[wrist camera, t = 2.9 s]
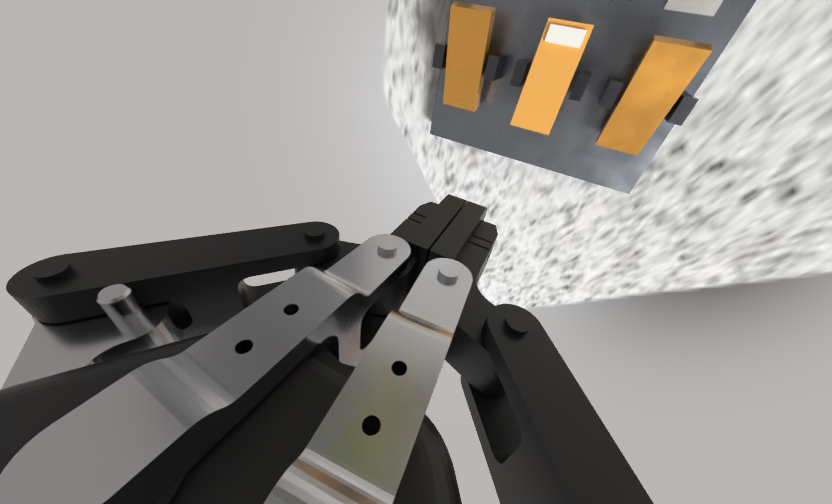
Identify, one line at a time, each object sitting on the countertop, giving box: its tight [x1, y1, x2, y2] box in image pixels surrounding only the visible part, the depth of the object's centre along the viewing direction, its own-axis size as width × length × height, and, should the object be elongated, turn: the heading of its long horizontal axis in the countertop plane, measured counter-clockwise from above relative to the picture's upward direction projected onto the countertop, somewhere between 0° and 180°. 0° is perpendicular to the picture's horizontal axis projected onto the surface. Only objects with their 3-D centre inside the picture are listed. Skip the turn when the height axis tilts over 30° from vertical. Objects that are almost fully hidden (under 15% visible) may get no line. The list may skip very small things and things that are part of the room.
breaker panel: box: [430, 0, 756, 194], centre depth 23 cm, size 19×14×6 cm
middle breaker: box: [510, 18, 594, 135], centre depth 22 cm, size 3×7×1 cm, turn 171°
